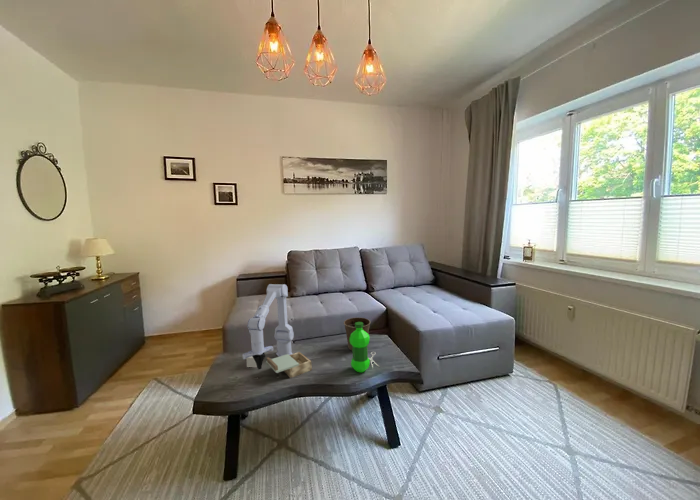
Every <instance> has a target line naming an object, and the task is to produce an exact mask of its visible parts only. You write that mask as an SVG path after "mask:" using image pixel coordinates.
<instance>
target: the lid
mask: <svg viewBox="0 0 700 500" xmlns="http://www.w3.org/2000/svg"><path fill="white" fill-rule="evenodd" d="M266 364H268V366H269V367H270V368H271V369H272V370H273V371H274V372H275V373H276V374H279V373H281V372H284V370H287V369H290V368H293V367H296V366H298V365H299V363H298V362H296V361H295V360H294V359H293V358H292V357H291V356H290V355H288V354H286V355H283V356H280V357H278V356H276V357H274V358H270V357H266Z"/></svg>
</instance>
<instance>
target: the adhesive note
mask: <svg viewBox="0 0 700 500" xmlns="http://www.w3.org/2000/svg"><path fill="white" fill-rule="evenodd" d="M245 360H246V368H247V367H257V365H256V362H255V360H254V358H253V357H252V356H251V357H248V358H246V359H245Z"/></svg>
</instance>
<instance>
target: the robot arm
mask: <svg viewBox="0 0 700 500" xmlns="http://www.w3.org/2000/svg"><path fill="white" fill-rule="evenodd" d="M288 290H289V289H288V286H287V284H285V283H284V284H283V283H282V284H278V283H277V284H276V283H275V284H272V283H269V284H268V285H267V287H266V295H265V297H264V300H263V302H262V304H261V305H259V306H258V307H257V309H256V311H255V313H254V314H253V316H252V317H251V318H248V321H247V329H248V331H249V334H250V342H251V344H250V345H251V350H249V351H247V352H244V353H242V360H246V358H248V357H251V356H252V357H253V358H254V360H255V362H256V365H257V368H256V369H257V370H261V369H263V368H262V366H263V362H264V360H265V358H266V354H265V353H267V352H273V351H274V346H272V345H269V346H265V345H264V344H265V342H264V330H263V329H264V328H265V324H266V318H267V316H268V314H269V312H270V306H271V305H272V303H273V301H274V300H275V299H276V300H277V303H276V304H277V316H278V317H277V318H278V325H277V326H276V327H275V329H274V339H275V340H276V352H275V355H276V357H280V356H283V355H286V354H288V355H291V354H294V353H293V351H292V340H293V339H294V335H295V334H294V333H295V332H294V329H293V326H292V325H290V324H289V323H288V305H287V298H288V297H289V292H288Z"/></svg>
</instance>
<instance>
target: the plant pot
mask: <svg viewBox="0 0 700 500" xmlns="http://www.w3.org/2000/svg"><path fill="white" fill-rule="evenodd" d="M356 322H362V323H363V327H362V330H364V331H365V332H366V333H368V334H369V332H370V331H369V330H370V325H371V320H370V319H369V318H366V317H357V316H356V317H350V318H347V319H345V320H344V321H343V326H344V329H345V333H346V334H345V335H346V342H347V348H348V350H350V351H352V345H351V344H350V340H349V339H350V336H351V333H353V332H354V331H355V330H356V327H355V323H356ZM368 347H369V344H368V345H367V349H368Z"/></svg>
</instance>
